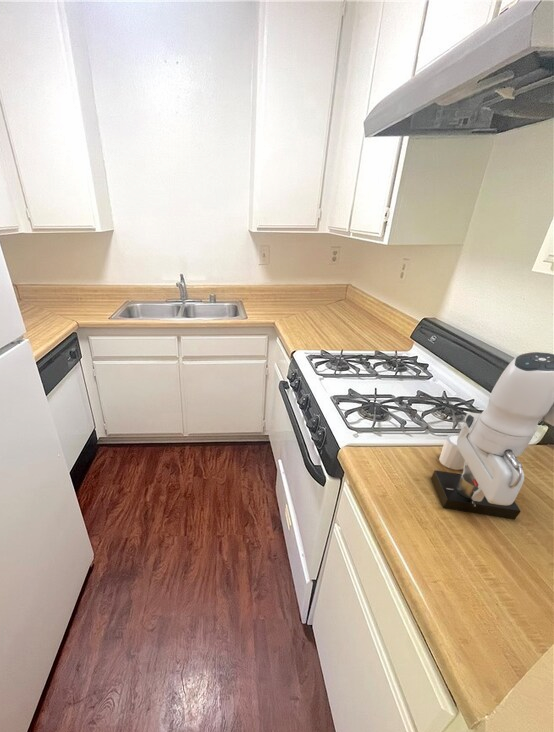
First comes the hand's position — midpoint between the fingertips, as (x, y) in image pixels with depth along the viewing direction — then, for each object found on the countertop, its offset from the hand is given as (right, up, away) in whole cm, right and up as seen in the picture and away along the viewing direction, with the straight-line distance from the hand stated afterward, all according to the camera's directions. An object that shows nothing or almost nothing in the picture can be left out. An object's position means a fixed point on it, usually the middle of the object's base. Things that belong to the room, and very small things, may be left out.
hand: (470, 489), depth 75 cm
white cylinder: (+5, +4, +14) cm, 15 cm away
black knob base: (+2, -3, +3) cm, 4 cm away
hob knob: (0, -1, 0) cm, 1 cm away
